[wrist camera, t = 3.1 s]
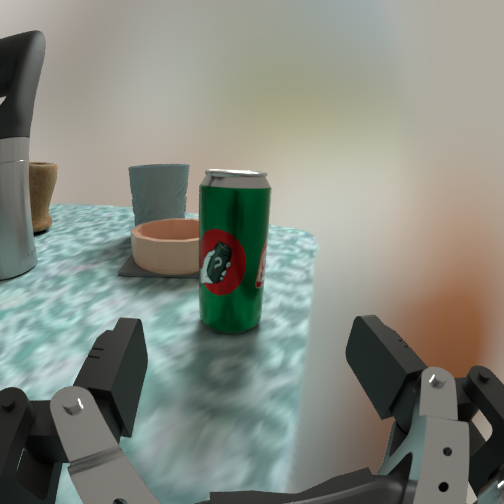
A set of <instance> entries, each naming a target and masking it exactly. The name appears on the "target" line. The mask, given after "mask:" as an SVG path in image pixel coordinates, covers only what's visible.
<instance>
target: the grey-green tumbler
mask: <svg viewBox="0 0 504 504" xmlns="http://www.w3.org/2000/svg"><path fill="white" fill-rule="evenodd" d="M189 166H190V165H189V164H155V165H141V166H131V167H129V176H130V187H131V193H132V198H133V199H132V205H133V213H134V214H135V227H136V226H137V225H140V224H143V223H146V222H150V221H154V220H163V219H172V218H180V219H185V214H184V213H185V211H186V198H187V197H186V195H185V194H186V191H187V185H188V175H189Z"/></svg>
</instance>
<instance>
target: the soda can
mask: <svg viewBox="0 0 504 504" xmlns="http://www.w3.org/2000/svg"><path fill="white" fill-rule="evenodd" d="M205 172H206V176H205V178H204V180H203V181H202V183H201V184H200V190H199V192H200V194H199V305H200V318H201V320H202V321H203V322H204V323H205V324H206V325H207V326H208V327H209V328H211V329H212V330H214V331H216V332H219V333H224V334H239V333H243V332H246V331H248V330H250V329H252V328H253V327H254V326H255V325H256V324H258V322H259V321H260V319H261V312H262V300H263V289H264V277H265V265H266V253H267V240H268V228H269V214H270V201H271V187H270V185H269V183H268V181H267V179H266V176H267V173H265V172H256V171H243V170H206V171H205Z"/></svg>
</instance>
